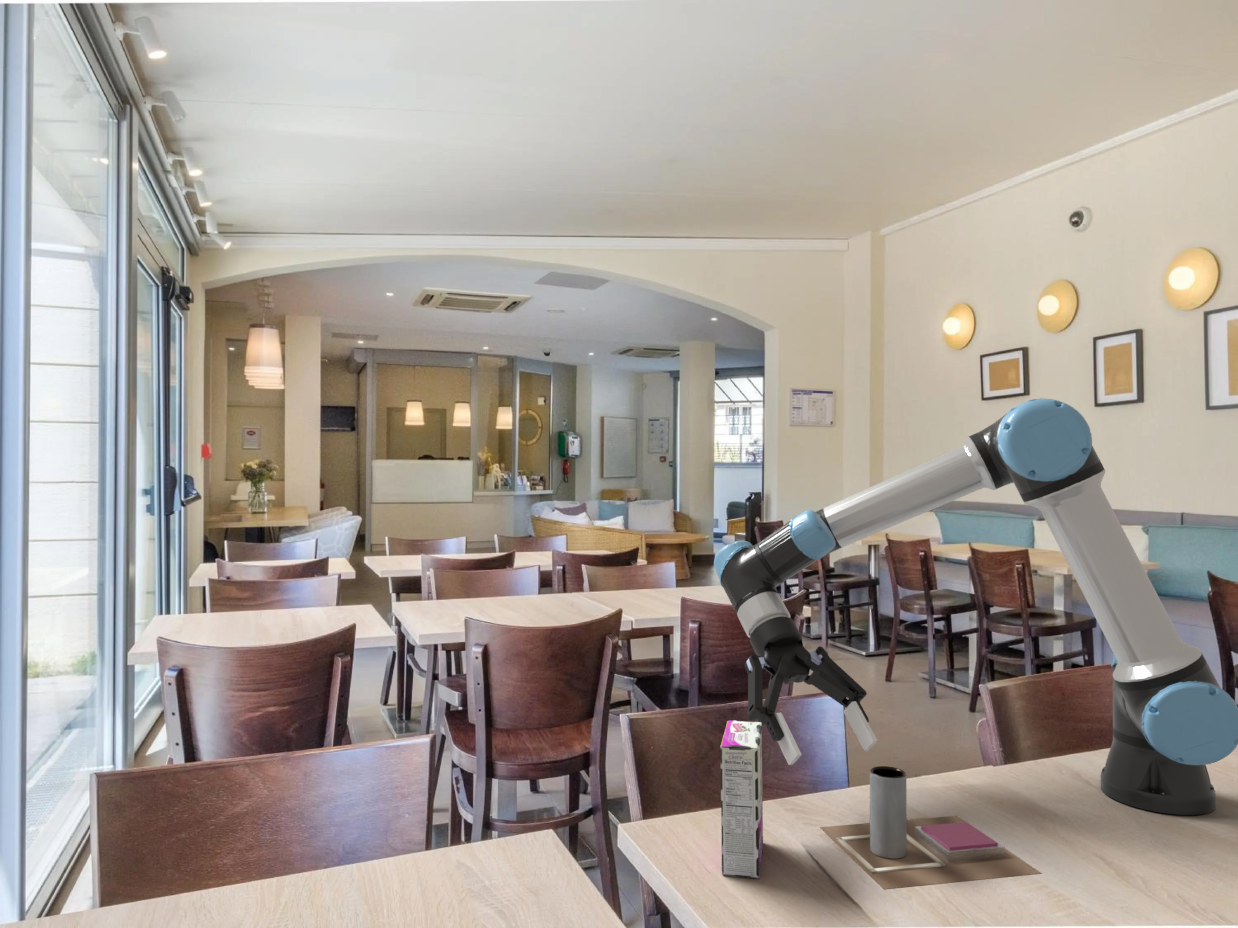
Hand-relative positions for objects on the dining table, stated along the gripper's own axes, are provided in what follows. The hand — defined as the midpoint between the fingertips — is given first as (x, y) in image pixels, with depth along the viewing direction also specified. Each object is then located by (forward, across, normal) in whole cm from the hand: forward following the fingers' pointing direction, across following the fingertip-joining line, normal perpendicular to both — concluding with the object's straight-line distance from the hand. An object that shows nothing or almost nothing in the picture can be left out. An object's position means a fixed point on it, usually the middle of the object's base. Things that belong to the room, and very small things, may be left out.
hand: (834, 753), depth 121 cm
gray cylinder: (+14, 0, 0) cm, 14 cm away
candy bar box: (+9, +17, -6) cm, 20 cm away
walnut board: (+16, -5, +1) cm, 17 cm away
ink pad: (+16, -10, +2) cm, 19 cm away
